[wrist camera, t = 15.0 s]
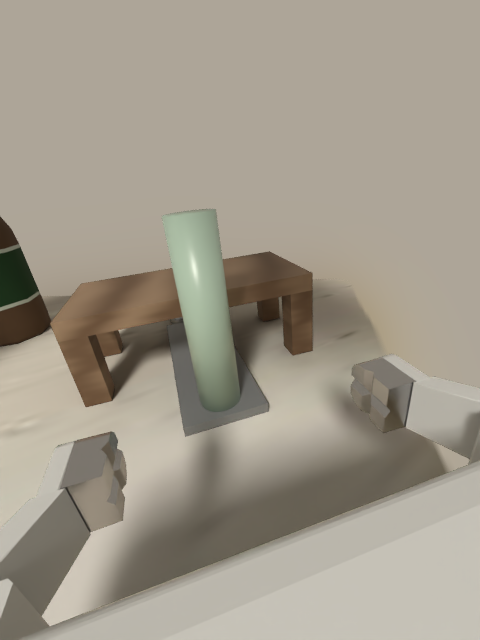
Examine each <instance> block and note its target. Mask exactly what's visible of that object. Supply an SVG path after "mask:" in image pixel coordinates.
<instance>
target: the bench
mask: <svg viewBox="0 0 480 640" xmlns="http://www.w3.org/2000/svg"><path fill="white" fill-rule="evenodd" d="M223 267H224V274H225V282H226V290H227V297H228V305H229V307H233V306H238V305H243V304H247V303H252V302H257V309H258V316H259V317H260V318H261V319H262V320H263V321H268V320H273V319H277V318H280V317H279V299H278V297H281V296H282V311H283V332H284V346H285V347H286V348H287V349H288V350H289V352H290V353H291V354H292V355H296V354H300V353H304V352H308V351H312V273H311V272H309V271H307V270H305V269H303V268H301V267H299V266H297V265H295V264H293V263H291V262H289V261H287V260H285V259H283V258H281V257H279V256H277V255H275V254H273V253H271V252H264V253H258V254H252V255H246V256H240V257H234V258H229V259H223ZM179 317H183V316H182V312H181V307H180V302H179V297H178V292H177V288H176V283H175V278H174V273H173V269H172V268H170V269H165V270H158V271H153V272H147V273H141V274H135V275H130V276H123V277H118V278H112V279H106V280H100V281H94V282H88V283H82V284H80V286H79V287H78V288H77V290H76V291H75V292H74V293H73V295H72V296H71V297H70V299H69V300H68V301H67V302H66V304H65V305H64V306H63V308H62V309H61V310H60V311H59V313H58V314H57V315H56V316H55V318H54V319H53V320H52V322H51V323H50V325H51V327H52V330H53V332H54V334H55V337H56V339H57V341H58V344H59V346H60V348H61V351H62V353H63V355H64V358H65V360H66V362H67V364H68V367H69V369H70V371H71V374H72V376H73V378H74V381H75V383H76V385H77V388H78V390H79V392H80V395H81V397H82V399H83V402H84V404H85V406H86V407H89V406H93V405H97V404H101V403H105V402H109V401H112V397H113V392H114V387H115V386H114V383H113V380H112V377H111V375H110V372H109V369H108V366H107V364H106V361H105V358H104V357H105V356H110V355H114V354H119V353H121V351H122V346H123V343H122V340H121V337H120V334H119V331H118V330H121V329H126V328H130V327H135V326H140V325H145V324H150V323H155V322H160V321H165V320H169V319H174V318H179Z"/></svg>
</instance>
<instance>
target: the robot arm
mask: <svg viewBox="0 0 480 640" xmlns="http://www.w3.org/2000/svg"><path fill="white" fill-rule="evenodd" d="M352 376H353V377H354V378H355V380H354V381H353V383H352V384H351V395H352V398H353V401H354V402H355V404H356V406H357V407H358V408H359V409H360V410H361V411H364V412H366V413H369V417H370V420H371V421H372V422H373V423H374V424H375V425H376V426H377V427H378V428H379V429H380V430H381V431H382V433H386V432H389V431H392V430H396V429H399V428H402V427H406V428H407V429H409V430H411V431H413V432H415V433H417V434H419V435H421V436H423V437H425V438H428V439H430V440H432V441H434V442H436V443H438V444H440V445H442V446H444V447H446V448H448V449H450V450H452V451H454V452H457V453H458V454H461V455H462V456H465V457H467V458H469V459H470V461H469V464H468V465H466V466H464V467H461V468H459V469H456V470H453V471H451V472H448V473H446V474H443V475H440V476H438V477H435V478H433V479H430V480H428V481H425V482H422V483H420V484H417V485H415V486H412V487H409V488H407V489H404V490H402V491H399V492H397V493H394V494H391V495H389V496H386V497H384V498H381V499H379V500H376V501H373V502H371V503H368V504H366V505H363V506H360V507H358V508H355V509H353V510H350V511H348V512H345V513H342V514H340V515H337V516H335V517H332V518H330V519H327V520H324V521H322V522H319V523H317V524H314V525H311V526H309V527H306V528H304V529H301V530H298V531H296V532H293V533H291V534H288V535H286V536H283V537H280V538H278V539H275V540H273V541H270V542H267V543H265V544H262V545H260V546H257V547H254V548H252V549H249V550H247V551H244V552H242V553H239V554H236V555H234V556H231V557H229V558H226V559H223V560H221V561H218V562H216V563H213V564H210V565H208V566H205V567H203V568H200V569H198V570H195V571H192V572H190V573H187V574H185V575H182V576H179V577H177V578H174V579H172V580H169V581H166V582H164V583H161V584H159V585H156V586H154V587H151V588H148V589H146V590H143V591H141V592H138V593H135V594H133V595H130V596H128V597H125V598H122V599H120V600H117V601H115V602H112V603H110V604H107V605H104V606H102V607H99V608H97V609H94V610H91V611H89V612H86V613H84V614H81V615H78V616H76V617H73V618H71V619H68V620H66V621H63V622H60V623H58V624H55V625H53V626H49V625H48V624H47V622H46V621H45V620H44V619H43V618H42V617H41V616H42V615H43V613H44V611H45V610H46V608H47V606H48V605H49V603H50V601H51V600H52V598H53V596H54V595H55V593H56V591H57V590H58V588H59V586H60V585H61V583H62V581H63V580H64V578H65V576H66V575H67V573H68V571H69V570H70V568H71V566H72V565H73V563H74V561H75V560H76V558H77V556H78V555H79V553H80V551H81V550H82V548H83V546H84V545H85V543H86V541H87V540H88V538H89V536H90V535H91V534H90V532H93V531H96V530H98V529H101V528H104V527H107V526H109V525H112V524H115V523H117V522H120V521H123V514H124V503H125V497H124V494H123V492H122V489H123V488H124V486H125V485H126V480H127V470H126V462H125V458H124V455H123V452H122V451H120V450H119V449H117V443H118V440H117V438H116V435H115V433H114V432H108V433H104V434H100V435H96V436H92V437H88V438H84V439H80V440H77V441H73V442H69V443H65V444H61V445H58V446H57V447H56V448H55V449H54V451H53V454H52V456H51V459H50V462H49V464H48V467H47V469H46V472H45V474H44V477H43V480H42V482H41V485H40V487H39V490H38V493H37V495H36V497H34V498H31V499H29V500H28V501H27V502H26V503H25V504H24V505H23V506H22V507H21V508H20V509H19V510H18V511H17V512H16V513H15V514H14V515H13V516H12V517H11V518H10V519H9V520H8V521H7V522H6V523H5V525H4V526H3V527H2V528H1V529H0V640H480V388H478V387H473V386H470V385H466V384H462V383H458V382H454V381H450V380H446V379H442V378H438V377H431V378H430V377H429V376H427V375H426V374H424V373H423V372H421V371H420V370H418V369H417V368H415V367H414V366H412V365H411V364H409V363H407V362H406V361H404V360H403V359H401V358H400V357H398V356H397V355H394V354H389V355H386V356H383V357H379V358H377V359H373V360H370V361H366V362H363V363H359V364H356V365H354V366H353V368H352Z"/></svg>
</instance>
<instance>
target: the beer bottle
mask: <svg viewBox="0 0 480 640" xmlns="http://www.w3.org/2000/svg"><path fill="white" fill-rule="evenodd" d="M50 323H51V320H50V317H49V314H48V311H47V309H46V306H45V304H44V302H43V299H42V297H41V295H40V292H39V290H38V287H37V285H36V283H35V281H34V278H33V276H32V273H31V271H30V269H29V266H28V264H27V262H26V259H25V257H24V254H23V252H22V250H21V247H20V245H19V243H18V241H17V239H16V237H15V235H14V233H13V231H12V230H11V228H10V227H9V226H8V225H7V224H6V223H5V221H4V220H3V219H2V218H1V217H0V346H6V345H12V344H18V343H20V342H23V341H25V340H28V339H30V338H33V337H35V336H37V335H40V334H42V333H43V332H44V331H45V330H46V329H47V328H48V327H49V326H50Z"/></svg>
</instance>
